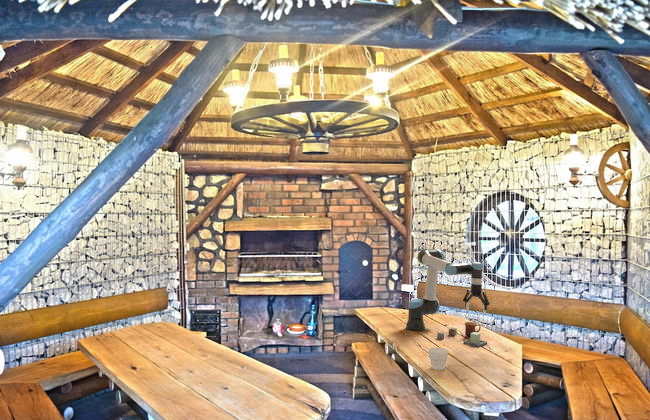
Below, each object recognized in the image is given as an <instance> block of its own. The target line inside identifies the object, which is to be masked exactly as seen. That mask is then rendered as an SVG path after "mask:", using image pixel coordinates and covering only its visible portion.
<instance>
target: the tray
mask: <svg viewBox="0 0 650 420" xmlns="http://www.w3.org/2000/svg"><path fill="white" fill-rule="evenodd" d="M463 344H465V345H467V344H468V346H472V347H477V348H480V347H482V346H485V345H488V341H486V340H482V339H480V343H479V344H476V343H471V342H470V338H469V339H466V340H463Z"/></svg>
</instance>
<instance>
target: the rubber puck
mask: <svg viewBox="0 0 650 420" xmlns="http://www.w3.org/2000/svg"><path fill="white" fill-rule="evenodd" d="M436 336H437V337H436V339H437V340H445V333H444V332H440V331H439V332H437V335H436Z"/></svg>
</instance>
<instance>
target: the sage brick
mask: <svg viewBox="0 0 650 420" xmlns="http://www.w3.org/2000/svg"><path fill="white" fill-rule="evenodd" d="M469 339H470V342H471V343H476V344H479V343H480V340H481V333H480V332H477V333H476V332H473V333H471V336H470V337H469Z"/></svg>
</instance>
